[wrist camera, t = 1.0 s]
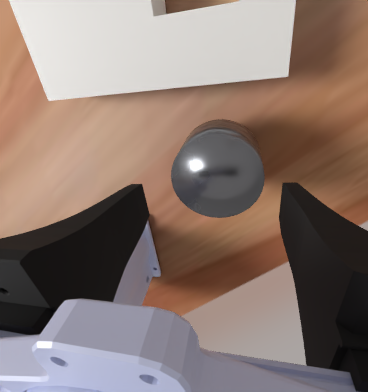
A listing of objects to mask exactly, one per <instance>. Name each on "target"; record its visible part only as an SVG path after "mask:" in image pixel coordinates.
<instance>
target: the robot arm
mask: <svg viewBox="0 0 368 392" xmlns="http://www.w3.org/2000/svg"><path fill="white" fill-rule="evenodd" d="M148 217H149V211H148V207H147V203H146V199H145V194H144V190H143V186H142V184H131V185H129V186H127V187H125V188H123V189H121V190H119V191H118V192H116V193H114V194H113V195H111V196H109V197H108V198H106V199H104V200H102V201H101V202H99V203H97V204H95V205H93V206H92V207H90V208H88V209H86V210H84V211H82V212H80V213H78V214H76V215H73V216H71V217H69V218H67V219H64V220H62V221H59V222H56V223H54V224H51V225H48V226H45V227H42V228H39V229H36V230H33V231H29V232H26V233H22V234H19V235H15V236H10V237H6V238H2V239H0V392H368V231H367V230H365V229H363V228H361V227H359V226H357V225H356V224H354V223H352V222H350V221H349V220H347V219H345V218H344V217H342V216H340V215H339V214H337V213H336V212H334V211H333V210H331V209H330V208H329V207H327V206H326V205H324V204H323V203H322V202H320V201H319V200H318V199H317V198H315V197H314V196H313V195H312V194H310V193H309V192H308V191H307V190H306V189H304V188H303V187H302V186H301V185H299V184H298V183H283V186H282V195H281V204H280V213H279V221H280V228H281V235H282V239H283V242H284V246H285V249H286V253H287V256H288V260H289V263H290V267H291V270H292V273H293V278H294V282H295V288H296V294H297V300H298V307H299V313H300V320H301V326H302V333H303V340H304V349H305V356H306V364H307V366H305V365H298V364H292V363H286V362H278V361H273V360H266V359H260V358H254V357H247V356H241V355H234V354H228V353H221V352H214V351H209V350H206V349H203V348H200V347H199V341H198V336H197V334H196V332H195V331H194V329H193V328H192V326H191V324H190V323H189V322H188V321H187V320H185V319H184V318H182V317H181V316H179V315H178V314H176V313H175V312H172V311H168V310H164V309H161V308H157V307H149V306H142V303H143V301H144V298H145V295H146V293H147V290H148V287H149V285H150V282H151V279H152V277H159V276H160V275H161V270H160V266H159V262H158V258H157V254H156V250H155V246H154V242H153V238H152V234H151V230H150V226H149V222H148Z"/></svg>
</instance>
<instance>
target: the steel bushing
mask: <svg viewBox="0 0 368 392" xmlns="http://www.w3.org/2000/svg"><path fill="white" fill-rule="evenodd" d="M171 179H172V185H173V188H174V190H175V192H176V194H177V196H178V197H179V199H180V200H181V201H182V202H183V203H184V204H185V205H186V206H187V207H188V208H190V209H191V210H193V211H195V212H197V213H199V214H201V215H205V216H209V217H217V218H222V217H230V216H234V215H237V214H240V213H242V212H244V211H245V210H247V209H248V208H250V207H251V206H252V205H253V204H254V203H255V202H256V201H257V199H258V198H259V196H260V194H261V192H262V190H263V186H264V170H263V164H262V158H261V153H260V148H259V144H258V142H257V140H256V138H255V137H254V135H253V134H252V133H251V132H250V131H249V130H248V129H247V128H246V127H244V126H243V125H241V124H239V123H237V122H234V121H230V120H212V121H209V122H206V123H203V124H201V125H200V126H198V127H197V128H195V129H194V130H193V131H192V132H191V133H190V135H189V136H188V137H187V139H186V141H185V142H184V144H183V146H182V148H181V149H180V151H179V153H178V155H177V157H176V158H175V160H174V163H173V166H172V171H171Z"/></svg>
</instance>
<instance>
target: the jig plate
mask: <svg viewBox="0 0 368 392" xmlns="http://www.w3.org/2000/svg"><path fill="white" fill-rule="evenodd" d="M9 1H10V4H11V7H12V9H13V12H14V14H15V17H16V19H17V22H18V24H19V27H20V29H21V32H22V34H23V37H24V40H25V42H26V45H27V47H28V50H29V52H30V55H31V57H32V60H33V62H34V65H35V68H36V70H37V73H38V75H39V78H40V80H41V83H42V85H43V88H44V90H45V93H46V95H47V98H48V101H52V100H62V99H72V98H82V97H92V96H101V95H111V94H121V93H131V92H141V91H151V90H161V89H171V88H181V87H191V86H200V85H210V84H220V83H230V82H240V81H250V80H260V79H270V78H280V77H288V73H289V63H290V53H291V44H292V34H293V24H294V14H295V5H296V0H239V1H238V2H232V3H227V4H221V5H216V6H210V7H204V8H199V9H193V10H187V11H182V12H176V13H170V14H166V6H165V0H9Z"/></svg>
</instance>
